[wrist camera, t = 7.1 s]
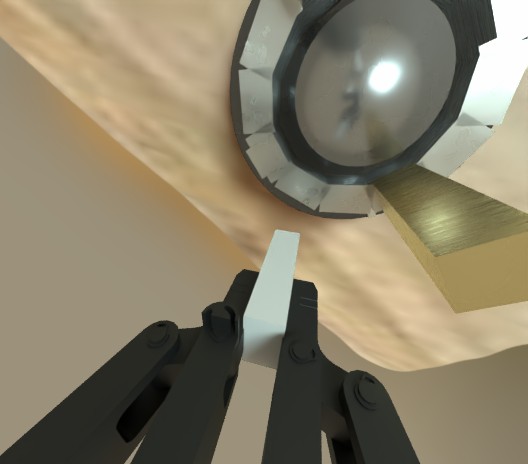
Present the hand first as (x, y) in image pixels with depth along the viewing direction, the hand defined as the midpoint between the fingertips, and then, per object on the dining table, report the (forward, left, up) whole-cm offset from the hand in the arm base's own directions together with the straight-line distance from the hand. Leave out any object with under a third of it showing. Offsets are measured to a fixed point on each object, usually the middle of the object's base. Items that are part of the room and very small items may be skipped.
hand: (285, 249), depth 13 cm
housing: (-8, +5, -9) cm, 13 cm away
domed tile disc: (-8, +5, -6) cm, 11 cm away
